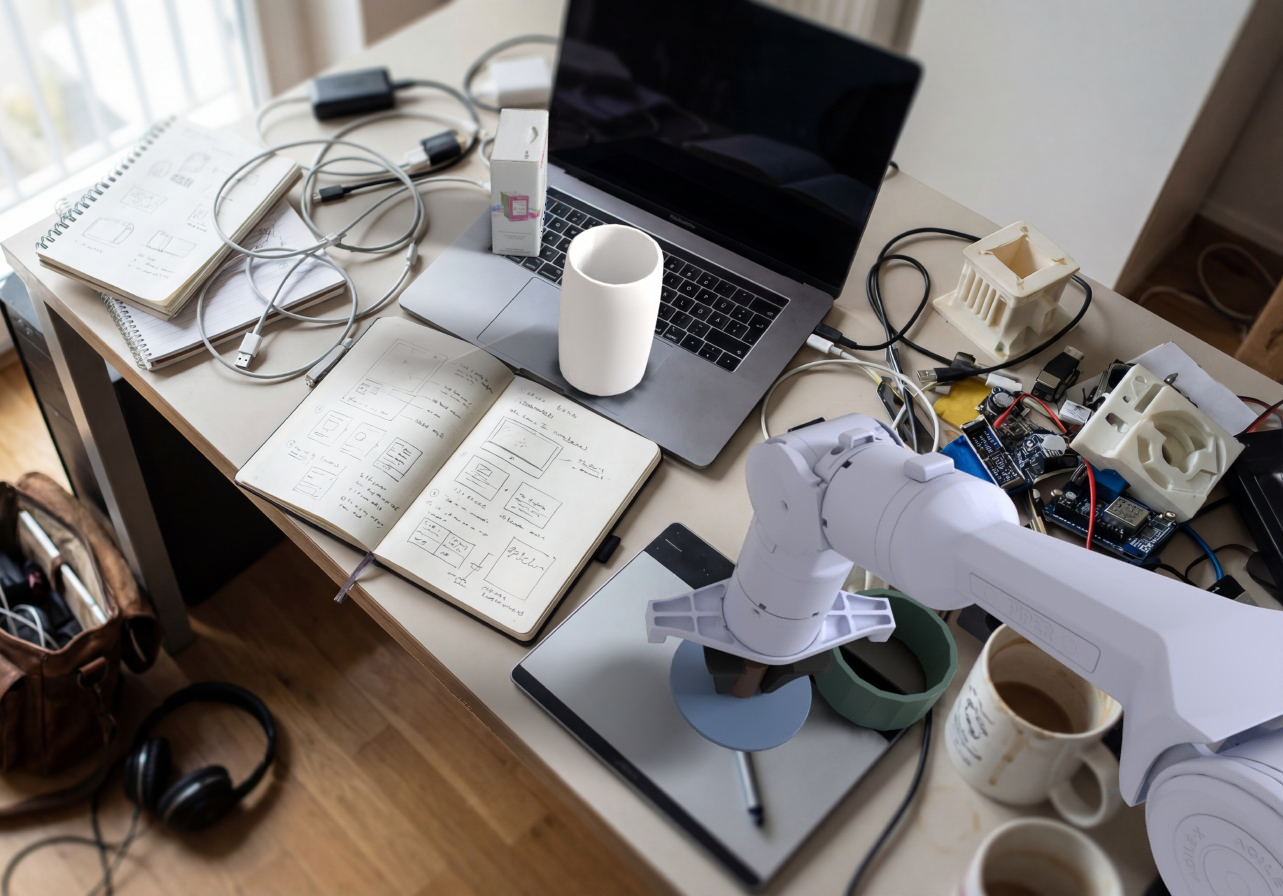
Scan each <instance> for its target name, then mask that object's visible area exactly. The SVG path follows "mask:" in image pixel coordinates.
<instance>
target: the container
mask: <svg viewBox="0 0 1283 896" xmlns="http://www.w3.org/2000/svg"><path fill="white" fill-rule="evenodd" d="M853 594H857V595H862V596H866V597H874V598H887V599H888V601H889V604H890V608H891V611H892V615H893V618H894V622H895V625H896V627H895V629H894V630H893V632H892V633H891V635H890V636H892V637H895V638H896V639H898V640H900V641H901V642H903V643H904V644H905V645H906V647H908V648H909V649H910V651H911V652H912V653H913V654H914V655H915V656H916V657H917V658H918V661H919V662H920V666H921V668H922V669H923V672H924V675H925V692H921V693H919V692H918V693H913V694H904V695H903V694H900V693H899V694H898V693H893V692H890V691H886V690H881V689H879V688H877V687H876V686H874V685H872V684H871V683H869V682H867V681H865V680H864V679H863V678H860V677H859V676H858V675H857V674H856V673H855V672H854V670H853V669H852V668H851V667H850V666H849V665H848V663H847V662H846V661H845V659H843V656H842V653H841V650H840V647H839V646H837V647H834V648H832V649H830V653H831V659H832V661H831V664H830V666H829V668H828V670H827V671H826V673H825V674H812V676H813V679H814V681H815V684H816V687H817V690H818V692H819V693H820V695H821V696H822V697H823V698H824V700H826V702H827V703H828V704H829V705H830V707H831V708H832V709H833V710H834V711H835V712H836V713H837V714H839V715H840V716H842V717H844V718H845V719H847V720H848V721H851V722H852V723H854V724H855V725H857V726H860V727H864V728H868V729H873V730H877V731H881V732H882V731H883V732H885V731H894V730H900V729H906V728H908V727H910V726H911V725H913V724H915V723H916V722H918V721H919V720H921V719H922V718H924V717H925V716H926V714H927V713H928V712H929V711H930V710H931V708H932V707H933V706H934V704H935V703H936V702H937V701H938V700H939V698H940V697H941V696H942V695H943V694H944V692H946V690H947V689H948V687H949V686H950V684H951V683H952V680H953V678H954V677H955V674H956V672H957V670H958V646H957V643H956V641H955V639H954V637H953V635H952V632H951V631H950V628H949V626H948V624H947V623H946V621H944V620H943V619H942V618H941V616H939V615H938V614H937V613H936V612H935V611H934V609H932V608H929V607H926V606H924V605H923V604H921V603H919V602H918V601H916V600H915V599H913V598H911V597H909V596H907V595H906V594H904V593H903V592H901V591H899V590H893V589H889V588H885V587H878V588H871V589H862V590H861V589H860V590H857V591H856V592H854V593H853Z"/></svg>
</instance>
